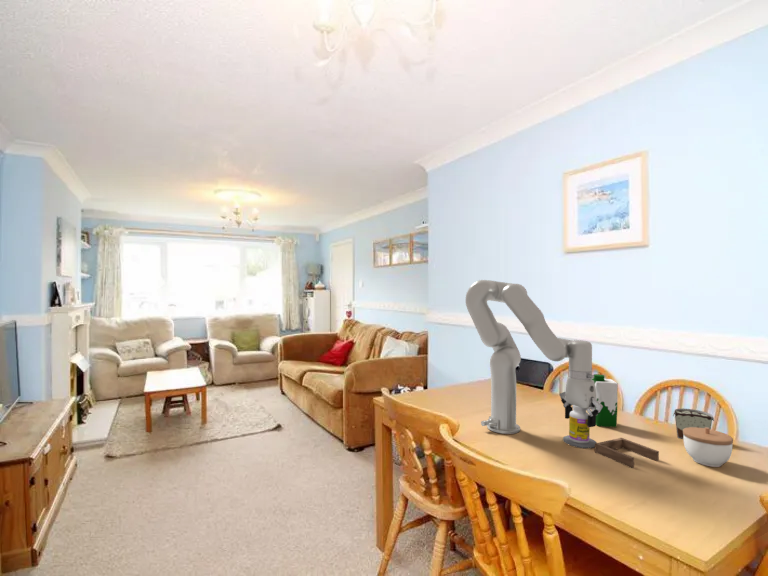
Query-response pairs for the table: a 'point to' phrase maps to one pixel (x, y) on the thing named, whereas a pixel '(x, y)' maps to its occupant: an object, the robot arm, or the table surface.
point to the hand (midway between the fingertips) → (579, 422)
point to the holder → (610, 449)
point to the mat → (580, 445)
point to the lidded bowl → (707, 446)
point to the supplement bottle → (579, 425)
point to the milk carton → (606, 401)
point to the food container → (691, 420)
